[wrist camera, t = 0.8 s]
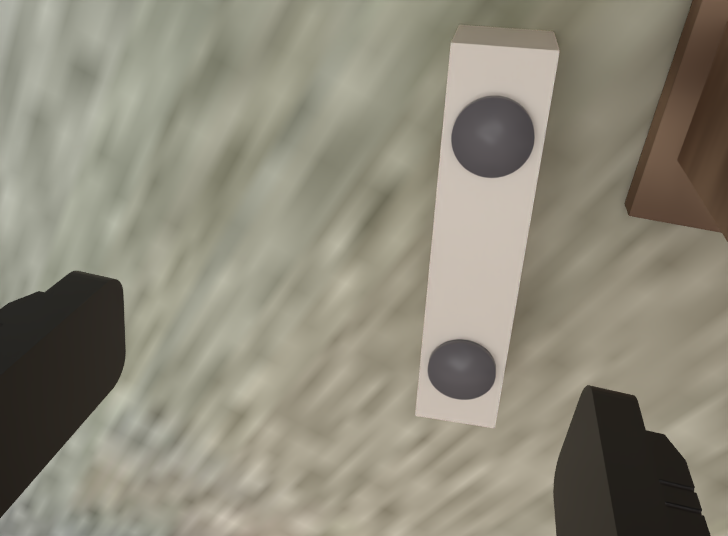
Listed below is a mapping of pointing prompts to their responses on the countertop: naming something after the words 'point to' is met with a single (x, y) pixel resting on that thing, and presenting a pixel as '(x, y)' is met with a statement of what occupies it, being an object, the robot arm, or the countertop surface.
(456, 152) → the frame bar
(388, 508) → the countertop surface
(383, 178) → the countertop surface
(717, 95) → the stand
